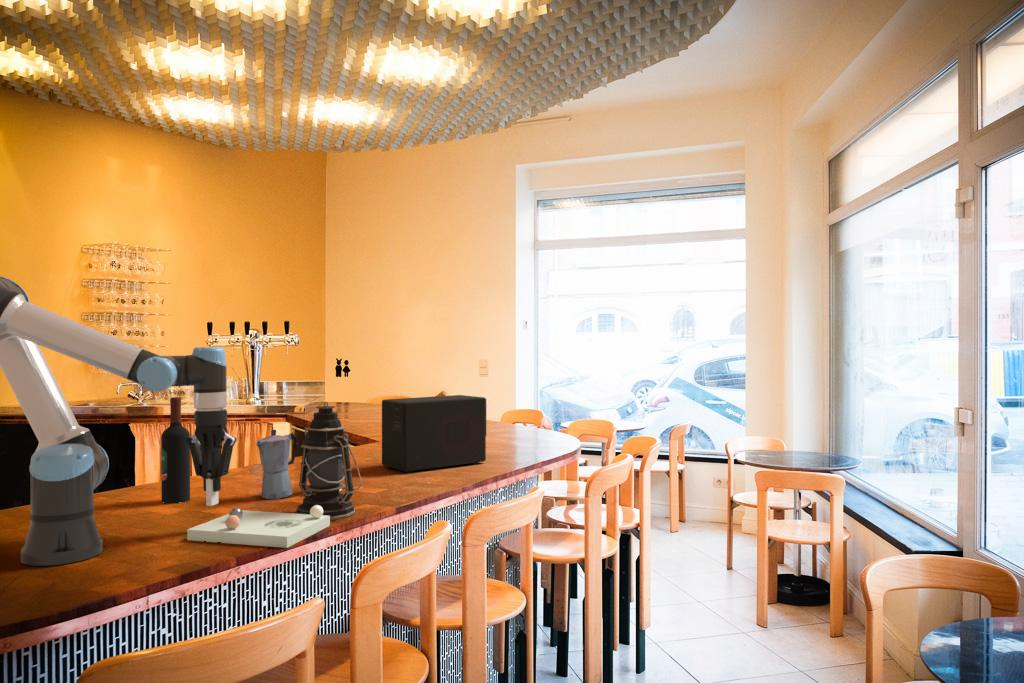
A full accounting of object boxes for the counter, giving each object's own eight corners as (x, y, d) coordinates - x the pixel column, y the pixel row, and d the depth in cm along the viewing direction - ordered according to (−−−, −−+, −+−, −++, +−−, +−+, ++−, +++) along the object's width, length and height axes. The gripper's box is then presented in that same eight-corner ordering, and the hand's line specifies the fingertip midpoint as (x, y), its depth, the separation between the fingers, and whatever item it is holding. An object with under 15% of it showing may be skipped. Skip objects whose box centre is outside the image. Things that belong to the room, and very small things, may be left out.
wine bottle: (179, 504, 207) (178, 398, 207) (155, 503, 209) (155, 398, 208) (195, 498, 214) (195, 396, 214) (172, 497, 216) (172, 396, 216)
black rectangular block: (461, 456, 291) (461, 394, 291) (490, 463, 276) (490, 397, 276) (376, 467, 268) (376, 398, 268) (403, 474, 252) (403, 402, 252)
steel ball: (237, 522, 176) (237, 509, 176) (226, 521, 177) (226, 508, 177) (245, 519, 180) (245, 506, 180) (234, 518, 180) (234, 505, 180)
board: (287, 547, 164) (287, 536, 164) (187, 540, 170) (187, 529, 170) (329, 525, 183) (329, 515, 183) (238, 519, 190) (238, 509, 190)
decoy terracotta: (234, 531, 169) (234, 517, 169) (222, 530, 170) (222, 516, 169) (242, 527, 172) (242, 514, 172) (230, 526, 173) (230, 513, 173)
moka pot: (245, 499, 214) (245, 431, 214) (284, 489, 227) (284, 425, 227) (269, 502, 209) (269, 433, 209) (307, 492, 223) (307, 427, 223)
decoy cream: (319, 520, 179) (319, 507, 179) (307, 519, 180) (307, 506, 180) (325, 516, 182) (325, 504, 182) (314, 516, 183) (314, 503, 183)
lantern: (276, 515, 194) (276, 402, 194) (321, 503, 208) (321, 398, 208) (330, 525, 184) (330, 406, 184) (374, 512, 197) (374, 401, 197)
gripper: (243, 407, 182) (244, 502, 182) (197, 407, 185) (199, 500, 185) (224, 411, 175) (226, 509, 175) (177, 410, 178) (179, 506, 178)
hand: (212, 504), depth 180 cm, fingers closed
